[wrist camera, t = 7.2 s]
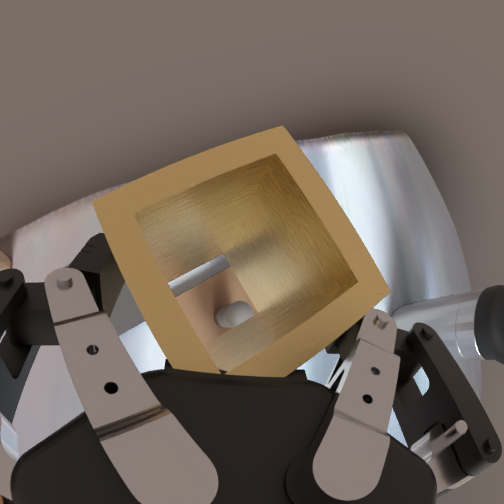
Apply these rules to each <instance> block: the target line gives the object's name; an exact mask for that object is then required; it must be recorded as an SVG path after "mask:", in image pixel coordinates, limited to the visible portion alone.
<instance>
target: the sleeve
mask: <svg viewBox="0 0 504 504" xmlns="http://www.w3.org/2000/svg"><path fill="white" fill-rule="evenodd" d="M92 203H93V206H94V208H95V211H96V214H97V216H98V219H99V222H100V224H101V227H102V229H103V232H104V234H105V237H106V239H107V241H108V244H109V246H110V249H111V251H112V253H113V255H114V258H115V260H116V262H117V264H118V267H119V269H120V271H121V273H122V275H123V277H124V280H125V282H126V284H127V286H128V288H129V290H130V292H131V294H132V296H133V298H134V300H135V302H136V304H137V306H138V308H139V310H140V311H141V313H142V315H143V317H144V319H145V321H146V323H147V325H148V326H149V328H150V330H151V332H152V334H153V335H154V337H155V339H156V341H157V342H158V344H159V346H160V348H161V349H162V351H163V353H164V354H165V356H166V358H167V359H168V361H169V363H170V364H171V366H172V367H173V368H174V369H181V370H189V371H198V372H207V373H217V374H221V373H220V371H219V370H218V369H221V370H224V371H227V372H226V373H225V374H228V375H242V376H260V377H286V376H287V375H288V374H290V373H291V372H293V371H294V370H296V369H297V368H298V367H300V366H301V365H302V364H304V363H305V362H307V361H308V360H309V359H311V358H312V357H313V356H315V355H316V354H317V353H319V352H320V351H321V350H323V349H324V348H325V347H326V346H328V345H329V344H330V343H332V342H333V341H334V340H335V339H337V338H338V337H339V336H340V335H342V334H343V333H344V332H345V331H346V330H348V329H349V328H350V327H351V326H352V325H354V324H355V323H356V322H357V321H358V320H360V319H361V318H362V317H363V316H364V315H365V314H366V313H368V312H369V311H370V310H371V309H372V308H373V307H374V306H376V305H377V304H378V303H379V302H380V301H381V300H382V299H383V298H384V297H385V296H387V295H388V294H389V293H390V292H391V291H390V289H389V288H388V286H387V284H386V282H385V280H384V278H383V277H382V275H381V273H380V271H379V269H378V267H377V266H376V264H375V262H374V260H373V259H372V257H371V255H370V253H369V252H368V250H367V248H366V247H365V245H364V243H363V242H362V240H361V238H360V237H359V235H358V233H357V232H356V230H355V228H354V227H353V225H352V224H351V222H350V220H349V219H348V217H347V216H346V214H345V213H344V211H343V209H342V208H341V206H340V205H339V203H338V202H337V200H336V199H335V197H334V196H333V194H332V193H331V191H330V190H329V188H328V187H327V185H326V184H325V182H324V181H323V179H322V178H321V177H320V175H319V174H318V172H317V171H316V169H315V168H314V167H313V165H312V164H311V162H310V161H309V160H308V158H307V157H306V156H305V154H304V153H303V151H302V150H301V149H300V147H299V146H298V145H297V143H296V142H295V141H294V139H293V138H292V137H291V136H290V134H289V133H288V132H287V130H286V129H285V128H284V127H283V126H279V127H276V128H272V129H270V130H266V131H263V132H259V133H256V134H253V135H250V136H247V137H244V138H241V139H238V140H235V141H232V142H229V143H226V144H223V145H220V146H217V147H215V148H212V149H209V150H207V151H204V152H201V153H199V154H196V155H193V156H191V157H188V158H186V159H184V160H181V161H179V162H176V163H174V164H172V165H169V166H166V167H164V168H162V169H159V170H157V171H155V172H152V173H150V174H148V175H146V176H143V177H141V178H139V179H137V180H135V181H133V182H130V183H128V184H126V185H124V186H122V187H120V188H118V189H116V190H114V191H112V192H110V193H108V194H106V195H104V196H102V197H100V198H98V199H96V200H94V201H92ZM221 254H224V256H225V258H226V260H227V261H228V263H229V265H230V266H231V268H232V270H233V271H234V273H235V275H236V277H237V278H238V280H239V282H240V283H241V285H242V287H243V288H244V290H245V292H246V293H247V295H248V297H249V298H250V300H251V302H252V303H253V305H254V307H255V308H256V310H257V312H258V313H257V314H255V315H254V316H252V317H251V318H249V319H247V320H246V321H244V322H242V323H241V324H239V325H237V326H236V327H234V328H232V329H231V330H229V331H227V332H226V333H224V334H222V335H221V336H219V337H217V338H215V339H214V340H212V341H210V342H209V343H207V344H205V345H203V344H202V342H201V341H200V339H199V338H198V336H197V334H196V333H195V331H194V329H193V327H192V326H191V324H190V322H189V321H188V319H187V317H186V315H185V314H184V312H183V310H182V308H181V307H180V305H179V303H178V301H177V299H176V298H175V296H174V294H173V292H172V290H171V288H170V287H169V285H168V283H169V282H170V281H172V280H174V279H176V278H178V277H180V276H182V275H183V274H185V273H187V272H189V271H191V270H193V269H195V268H197V267H199V266H200V265H202V264H204V263H206V262H208V261H210V260H212V259H214V258H216V257H217V256H219V255H221Z"/></svg>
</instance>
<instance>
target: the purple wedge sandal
mask: <svg viewBox="0 0 504 504" xmlns="http://www.w3.org/2000/svg"><path fill="white" fill-rule="evenodd" d="M10 268H12V261H11V259H10V258H9V257H7V256H6V255H5V254H4V253H3V252H2V251H0V271H1V270H4V269H10Z"/></svg>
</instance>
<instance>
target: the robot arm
mask: <svg viewBox="0 0 504 504" xmlns="http://www.w3.org/2000/svg"><path fill="white" fill-rule="evenodd" d="M124 283H125V280H124V277H123V275H122V273H121V271H120V269H119V267H118V264H117V262H116V260H115V258H114V255H113V253H112V251H111V249H110V246H109V244H108V241H107V239H106V237H105V234H104V233H99V234H97V235H95V236H93V237H91V238H90V239H89V241H88V242H87V243H86V244H85V246H84V247H83V248H82V249H81V252H79V253H78V255H77V256H76V257H75V259H74V260H73V261H72V263H71V264H70V265H69V267H68V268H60V269H57V270H54V271H53V272H51V273H50V274H48V275H47V277H46V278H45V282H40V283H25V279H24V275H23V273H22V272H21V271H20V270H17V269H12V268H10V269H4V270H1V271H0V338H1V336H2V335H3V333H4V331H5V330H6V334H5V336H4V337H3V339H2V341H1V343H0V495H2V496H4V497H6V498H8V499H10V500H12V501H13V504H436V498H438V497H440V496H442V495H444V494H446V493H448V492H449V491H451V490H453V489H455V488H457V487H458V486H460V485H462V484H463V483H465V482H467V481H468V480H470V479H472V478H473V477H475V476H476V475H478V474H479V473H481V472H482V471H484V470H485V469H487V468H488V467H489V466H491V465H493V464H494V463H495V462H497V461H498V460H499V459H500V457H501V453H502V447H501V442H500V440H499V438H498V436H497V434H496V432H495V430H494V427H493V426H492V424H491V422H490V420H489V418H488V416H487V414H486V412H485V410H484V408H483V407H482V405H481V403H480V401H479V399H478V398H477V396H476V394H475V392H474V391H473V389H472V387H471V385H470V384H469V382H468V380H467V379H466V377H465V375H464V374H463V372H462V371H461V369H460V367H459V366H458V364H457V363H456V361H469V360H496V361H498V362H500V363H502V364H504V285H496V286H492V287H489V288H485V289H481V290H477V291H473V292H469V293H465V294H460V295H456V296H455V295H449V296H444V297H440V298H435V299H430V300H425V301H420V302H415V303H413V304H410V305H405V306H401V307H400V308H398V309H397V310H396V311H395V312H394V314H393V315H392V317H391V316H390V315H389V314H387V313H385V312H384V311H381V310H378V309H373V308H372V309H371V310H370V311H369V312H368V313H366V314H365V315H364V316H363V317H362V318H361V319H360V320H358V321H357V322H356V323H355V324H354V325H352V326H351V327H350V328H349V329H348V330H346V331H345V332H344V333H343V334H342V335H340V336H339V337H338V338H337V339H335V340H334V341H333V342H332V343H330V344H329V345H328V346H326V347H325V349H326V352H327V354H339V355H340V356H339V358H338V360H337V361H336V363H335V365H334V367H333V370H332V372H331V374H330V376H329V378H328V380H327V382H326V385H325V386H324V385H322V384H320V383H317V382H314V381H311V380H307V377H306V373H305V370H294V371H293V372H291V373H290V374H288V375H287V376H286V377H260V376H242V375H228V374H225V373H226V372H227V371H224V370H221V369H218V370H219V371H220V373H221V374H217V373H207V372H198V371H189V370H181V369H174V368H173V367H172V366H171V364H170V363H169V361H168V359H166V361H165V369H161V370H153V371H148V372H145V373H141V374H140V372H139V371H138V369H137V368H136V366H135V364H134V363H133V361H132V359H131V358H130V356H129V354H128V352H127V351H126V349H125V347H124V345H123V344H122V342H121V340H120V338H119V336H118V335H117V333H116V331H115V329H114V327H113V325H112V323H111V321H110V316H111V314H112V311H113V309H114V306H115V304H116V302H117V299H118V297H119V294H120V292H121V290H122V287H123V285H124ZM41 345H60V348H61V351H62V354H63V357H64V360H65V363H66V365H67V368H68V371H69V374H70V376H71V379H72V382H73V384H74V387H75V389H76V391H77V394H78V396H79V399H80V401H81V403H82V405H83V408H84V410H85V411H84V412H83V413H81V414H80V415H78V416H77V417H76V418H74V419H73V420H71V421H70V422H68V423H67V424H66V425H64V426H63V427H61V428H60V429H59V430H57V431H56V432H54V433H53V434H51V435H50V436H48V437H47V438H46V439H44V440H43V441H41V442H40V443H38V444H37V445H35V446H34V447H32V448H31V449H29V450H28V451H27V452H25V453H24V454H23V455H22V456H21V457H20V458H19V455H18V436H17V432H16V430H15V428H14V427H13V425H12V421H13V418H14V415H15V411H16V408H17V405H18V402H19V399H20V396H21V393H22V391H23V388H24V385H25V382H26V380H27V377H28V375H29V372H30V369H31V367H32V365H33V362H34V360H35V357H36V355H37V353H38V350H39V348H40V346H41ZM421 367H422V368H423V369H424V371H425V373H426V375H427V377H428V379H429V389H428V391H427V392H426V393H425V394H424V395H423V396H422V394H421V392H420V390H419V388H418V386H417V384H416V382H415V380H414V378H413V376H414V375H415V374H416V373H417V372H418V370H419V369H420V368H421ZM392 407H393V410H394V412H395V415H396V417H397V420H398V422H399V425H400V427H401V430H402V432H403V435H404V438H405V440H406V443H407V445H408V448H407V447H406V446H405V445H403V444H402V443H400V442H399V441H398V440H396V439H395V438H394V437H392V436H391V435H390V434H388V433H387V428H388V424H389V419H390V415H391V410H392Z"/></svg>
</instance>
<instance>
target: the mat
mask: <svg viewBox="0 0 504 504" xmlns="http://www.w3.org/2000/svg"><path fill="white" fill-rule="evenodd" d="M110 321H111V323H112V325H113V327H114V329H115V331H116V333H117V335H118V336H119V335H121V334H123V333H125V332H126V331H128V330H130V329H132V328H133V327H135V326H137V325H139V324H141V323H142V322H144V321H145V319H144V317H143V315H142V313H141V311H140V310H139V308H138V306H137V304H136V302H135V300H134V298H133V296H132V294H131V292H130V290H129V288H128V286H127V284H126V282H125V283H124V285H123V287H122V290H121V292H120V294H119V297H118V299H117V302H116V304H115V306H114V309H113V311H112V314H111V316H110Z"/></svg>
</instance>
